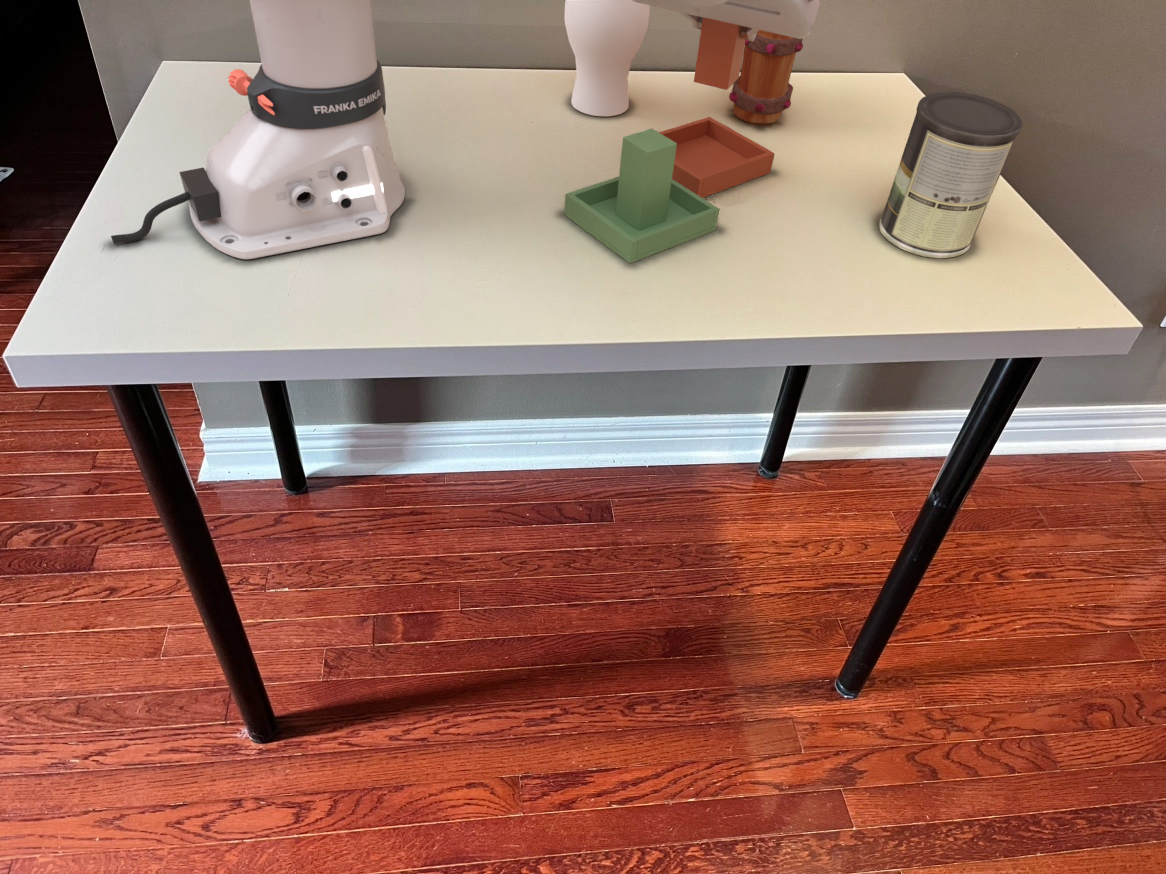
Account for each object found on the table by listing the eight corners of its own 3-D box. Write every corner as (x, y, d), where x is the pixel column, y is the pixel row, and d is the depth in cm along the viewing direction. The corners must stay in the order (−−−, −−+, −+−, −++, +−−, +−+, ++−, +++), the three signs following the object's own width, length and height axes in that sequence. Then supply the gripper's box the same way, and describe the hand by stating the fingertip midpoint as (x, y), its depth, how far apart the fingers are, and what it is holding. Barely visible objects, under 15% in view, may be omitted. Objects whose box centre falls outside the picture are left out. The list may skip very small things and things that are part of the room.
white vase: (562, 85, 122) (568, -33, 111) (639, 91, 122) (651, -26, 111) (558, 118, 114) (563, -5, 104) (639, 125, 114) (653, 3, 104)
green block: (638, 231, 95) (647, 152, 88) (615, 214, 97) (622, 136, 90) (666, 220, 96) (677, 143, 90) (642, 204, 99) (651, 127, 92)
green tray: (630, 263, 91) (632, 242, 89) (564, 214, 97) (565, 193, 95) (716, 230, 97) (720, 209, 95) (648, 186, 103) (651, 165, 101)
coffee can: (859, 218, 101) (897, 97, 91) (929, 204, 104) (974, 86, 94) (917, 266, 94) (966, 141, 84) (990, 249, 97) (1045, 127, 88)
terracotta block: (727, 90, 97) (744, -7, 90) (693, 82, 98) (707, -15, 91) (738, 77, 100) (755, -17, 93) (705, 70, 101) (720, -25, 94)
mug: (785, 137, 115) (813, 16, 104) (723, 127, 115) (744, 6, 105) (789, 92, 125) (815, -22, 114) (731, 84, 126) (752, -30, 115)
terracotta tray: (696, 200, 101) (699, 179, 100) (632, 159, 107) (635, 139, 106) (770, 173, 107) (775, 153, 105) (706, 136, 113) (709, 116, 112)
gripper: (830, -60, 79) (829, 21, 93) (623, -99, 85) (650, -18, 98) (805, 7, 79) (808, 78, 93) (600, -37, 85) (631, 36, 98)
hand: (725, 28), depth 96 cm, fingers closed on terracotta block, 4 cm apart
